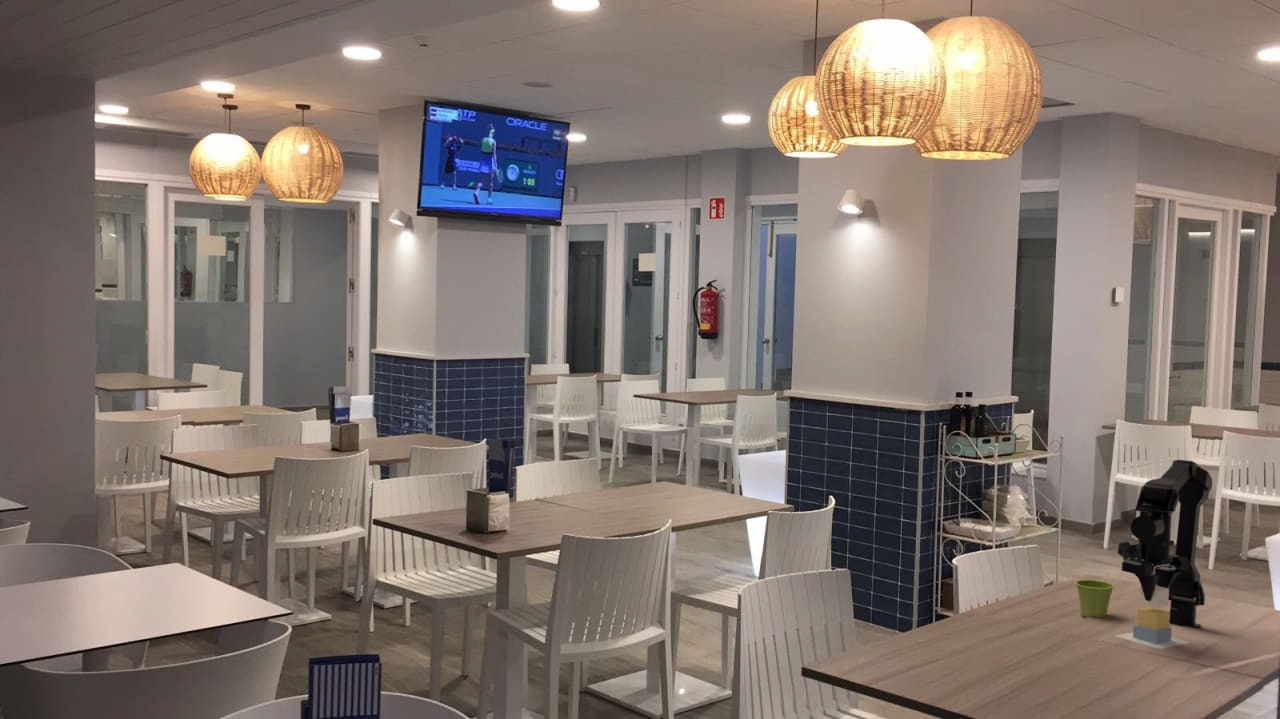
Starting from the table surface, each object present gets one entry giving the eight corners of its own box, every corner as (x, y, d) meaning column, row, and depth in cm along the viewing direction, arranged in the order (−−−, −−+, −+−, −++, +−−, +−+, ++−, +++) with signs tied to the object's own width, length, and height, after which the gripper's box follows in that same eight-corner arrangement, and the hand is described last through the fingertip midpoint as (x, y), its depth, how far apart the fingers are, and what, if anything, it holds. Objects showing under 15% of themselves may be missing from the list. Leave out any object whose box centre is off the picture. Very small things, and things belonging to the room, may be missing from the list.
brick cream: (1150, 600, 277) (1151, 584, 276) (1168, 605, 273) (1168, 588, 273) (1139, 602, 274) (1140, 586, 274) (1156, 607, 270) (1157, 590, 270)
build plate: (1144, 633, 282) (1144, 629, 282) (1189, 645, 272) (1190, 642, 272) (1114, 639, 276) (1114, 635, 276) (1159, 652, 265) (1160, 648, 265)
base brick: (1148, 634, 278) (1148, 622, 278) (1171, 640, 273) (1171, 628, 273) (1133, 637, 275) (1133, 625, 274) (1155, 643, 270) (1156, 631, 269)
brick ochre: (1149, 623, 277) (1150, 606, 277) (1168, 628, 273) (1169, 611, 273) (1137, 625, 274) (1138, 609, 274) (1156, 630, 270) (1157, 613, 270)
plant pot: (1107, 623, 290) (1108, 590, 290) (1069, 616, 296) (1070, 583, 295) (1117, 616, 297) (1118, 583, 297) (1079, 610, 303) (1081, 577, 303)
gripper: (1150, 526, 285) (1147, 588, 285) (1103, 532, 275) (1100, 596, 275) (1192, 534, 275) (1188, 598, 276) (1145, 540, 265) (1142, 607, 266)
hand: (1154, 599), depth 273 cm, fingers closed on brick cream, 4 cm apart
